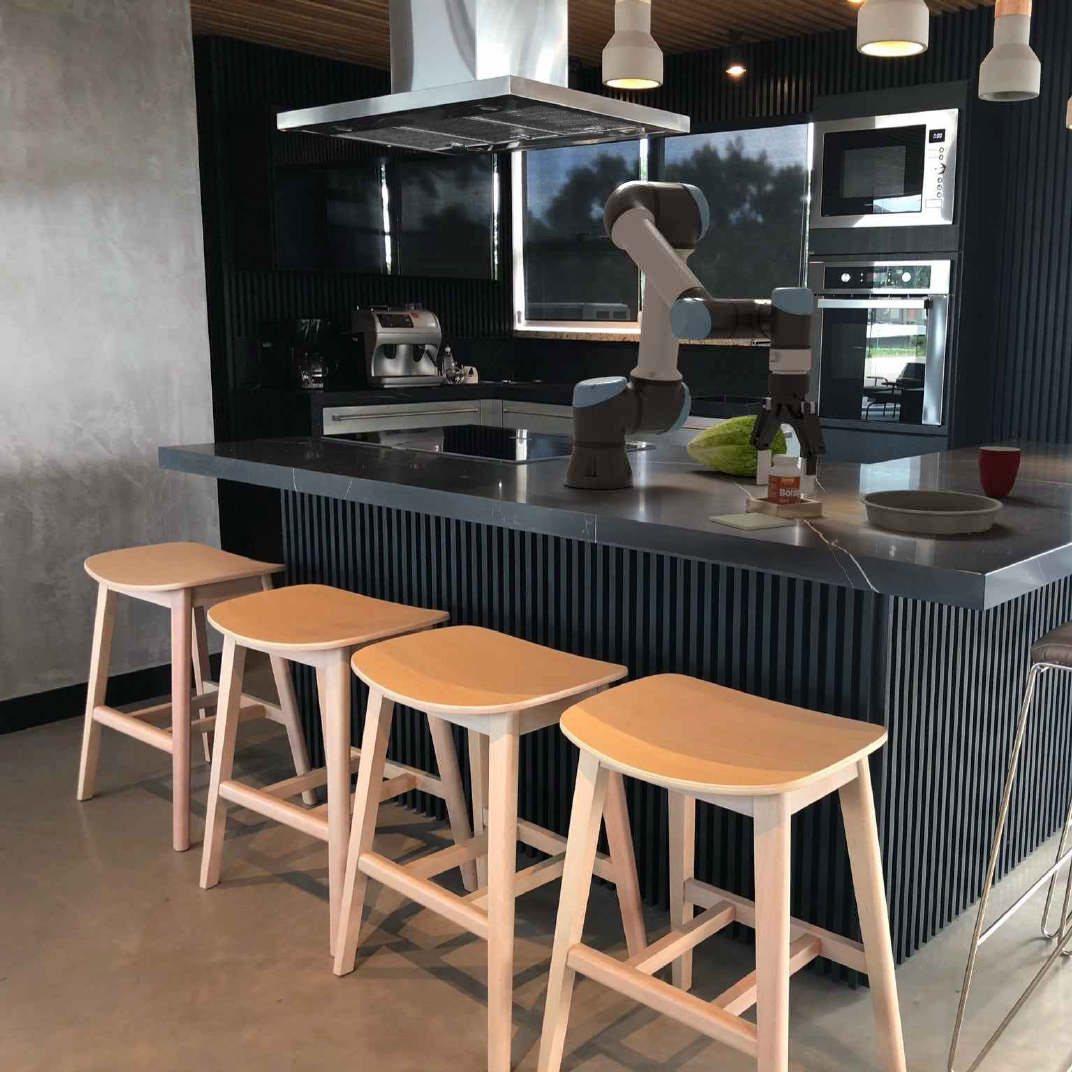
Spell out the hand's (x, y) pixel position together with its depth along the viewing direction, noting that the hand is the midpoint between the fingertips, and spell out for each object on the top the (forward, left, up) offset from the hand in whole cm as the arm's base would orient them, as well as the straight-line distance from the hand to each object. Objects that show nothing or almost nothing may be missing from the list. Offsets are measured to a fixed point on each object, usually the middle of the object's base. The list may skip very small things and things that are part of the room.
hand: (784, 488), depth 218 cm
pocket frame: (0, 0, -5) cm, 5 cm away
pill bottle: (0, 0, -5) cm, 5 cm away
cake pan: (+20, +17, -5) cm, 27 cm away
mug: (+4, +54, -5) cm, 54 cm away
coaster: (+5, -11, -5) cm, 13 cm away
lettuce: (-49, +26, -5) cm, 56 cm away
